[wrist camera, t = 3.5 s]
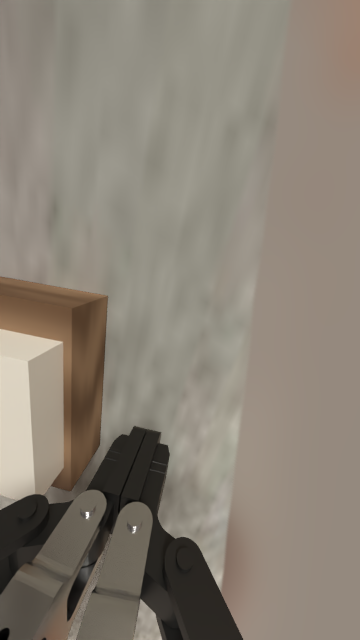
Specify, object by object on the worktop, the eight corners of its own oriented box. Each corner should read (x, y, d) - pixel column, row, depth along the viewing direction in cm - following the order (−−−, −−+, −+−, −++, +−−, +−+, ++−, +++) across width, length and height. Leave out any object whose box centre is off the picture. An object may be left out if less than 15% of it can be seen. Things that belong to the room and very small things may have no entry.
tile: (-33, 321, 13) (-87, 335, 11) (63, 342, 12) (27, 361, 10) (-17, 445, 15) (-57, 478, 13) (63, 467, 15) (35, 505, 12)
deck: (-9, 275, 16) (-77, 280, 13) (107, 296, 15) (71, 308, 12) (5, 420, 20) (-44, 458, 16) (99, 445, 19) (70, 491, 15)
